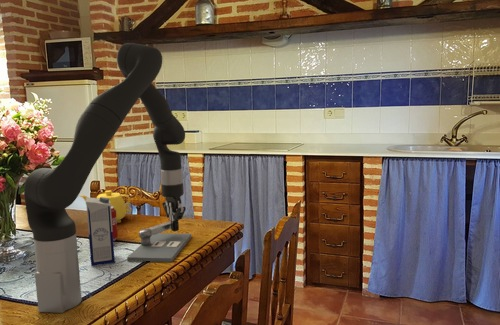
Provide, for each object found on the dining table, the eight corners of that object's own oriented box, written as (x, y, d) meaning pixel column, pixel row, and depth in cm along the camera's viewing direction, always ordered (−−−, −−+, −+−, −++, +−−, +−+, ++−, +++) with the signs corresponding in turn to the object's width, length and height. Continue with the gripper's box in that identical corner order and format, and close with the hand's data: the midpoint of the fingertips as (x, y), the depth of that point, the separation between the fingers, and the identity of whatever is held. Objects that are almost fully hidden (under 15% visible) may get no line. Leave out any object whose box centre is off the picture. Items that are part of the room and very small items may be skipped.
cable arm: (177, 227, 149) (177, 221, 149) (144, 239, 137) (144, 232, 137) (169, 226, 151) (169, 220, 151) (136, 237, 139) (136, 230, 139)
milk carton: (91, 258, 132) (86, 196, 129) (113, 255, 134) (109, 194, 131) (91, 266, 125) (86, 201, 122) (114, 262, 128) (110, 198, 125)
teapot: (132, 223, 170) (130, 192, 169) (79, 228, 165) (77, 196, 163) (131, 214, 183) (130, 186, 182) (83, 219, 178) (80, 189, 176)
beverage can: (112, 243, 146) (109, 210, 144) (95, 242, 147) (93, 209, 145) (121, 237, 152) (119, 205, 150) (105, 237, 153) (103, 205, 151)
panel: (171, 262, 127) (171, 250, 127) (127, 261, 129) (126, 249, 128) (191, 236, 151) (191, 226, 150) (154, 236, 152) (153, 226, 152)
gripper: (191, 182, 141) (194, 232, 143) (172, 178, 151) (175, 224, 154) (171, 186, 136) (174, 237, 139) (153, 181, 147) (156, 229, 149)
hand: (175, 230), depth 146 cm, fingers closed
